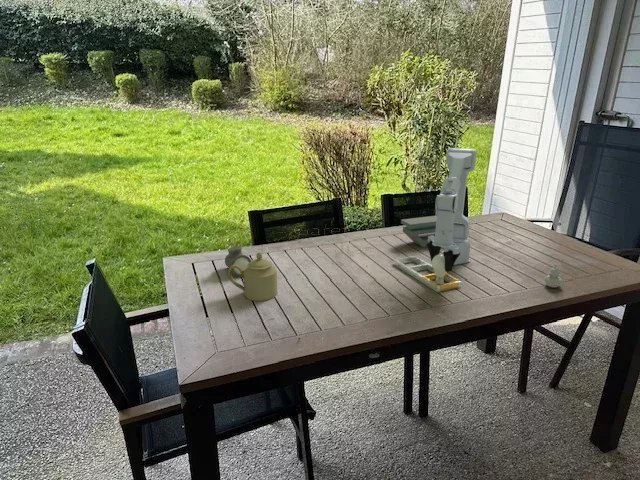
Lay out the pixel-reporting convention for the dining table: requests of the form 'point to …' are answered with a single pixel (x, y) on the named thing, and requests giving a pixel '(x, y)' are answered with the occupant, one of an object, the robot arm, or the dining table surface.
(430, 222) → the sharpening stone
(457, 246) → the robot arm
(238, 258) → the pipe fitting
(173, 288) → the dining table surface
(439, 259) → the lightbulb
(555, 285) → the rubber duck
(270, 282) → the sugar bowl
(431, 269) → the rack
